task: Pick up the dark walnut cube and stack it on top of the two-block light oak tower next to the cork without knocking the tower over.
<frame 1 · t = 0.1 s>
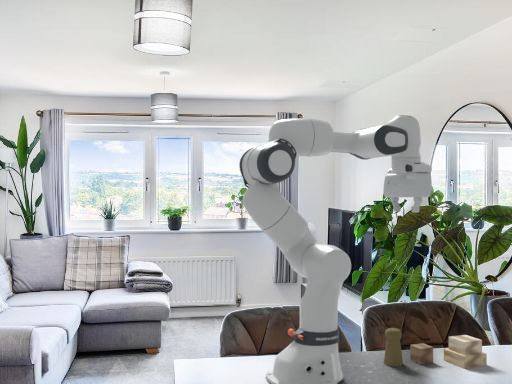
hand: (406, 212, 172), 48 cm above the table, tool pointing down, fingers open, 8 cm apart
tower mid: (465, 351, 175), point 4 cm above the table, touching tower base
tower base: (464, 363, 175), on the table, touching tower mid
cork: (393, 364, 174), on the table
walnut cube: (421, 361, 176), on the table
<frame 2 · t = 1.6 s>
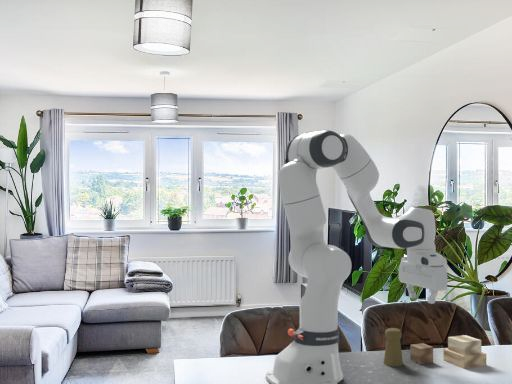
hand: (421, 300, 176), 19 cm above the table, tool pointing down, fingers open, 8 cm apart
nothing on the table moved.
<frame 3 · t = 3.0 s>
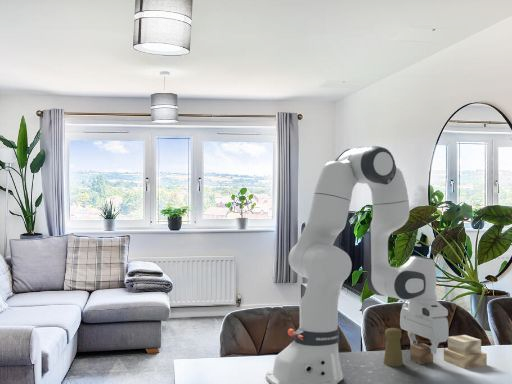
hand: (423, 349, 176), 4 cm above the table, tool pointing down, fingers open, 8 cm apart
nothing on the table moved.
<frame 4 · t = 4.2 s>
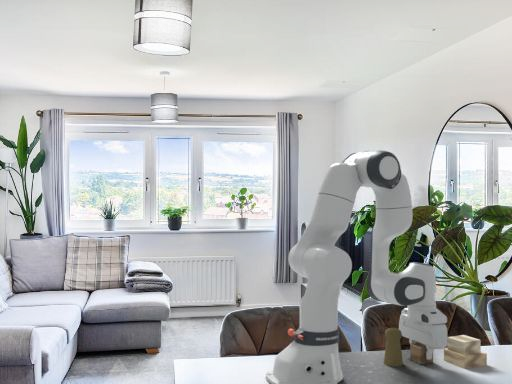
hand: (421, 356, 176), 2 cm above the table, tool pointing down, fingers closed on walnut cube, 5 cm apart
walnut cube: (421, 361, 176), on the table, touching gripper
everything else where it was.
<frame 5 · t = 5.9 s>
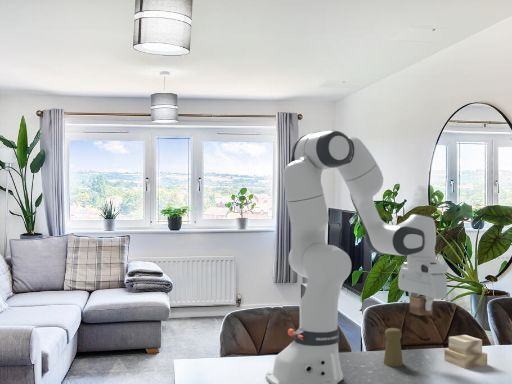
hand: (420, 308, 176), 17 cm above the table, tool pointing down, fingers closed on walnut cube, 5 cm apart
tower mid: (465, 351, 175), point 4 cm above the table
tower base: (465, 363, 175), on the table
walnut cube: (420, 313, 176), point 15 cm above the table, touching gripper
everything else where it was.
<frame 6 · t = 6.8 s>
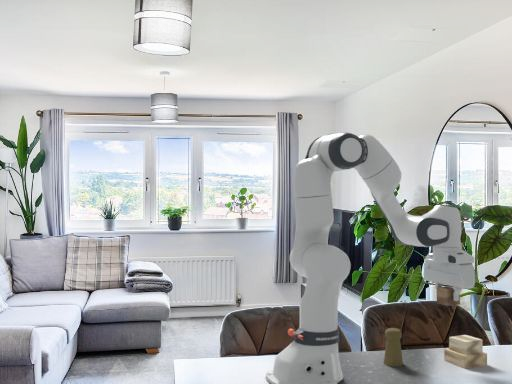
hand: (448, 298, 176), 20 cm above the table, tool pointing down, fingers closed on walnut cube, 5 cm apart
tower mid: (465, 350, 175), point 4 cm above the table, touching tower base
tower base: (465, 363, 175), on the table, touching tower mid
walnut cube: (448, 303, 176), point 18 cm above the table, touching gripper
everything else where it was.
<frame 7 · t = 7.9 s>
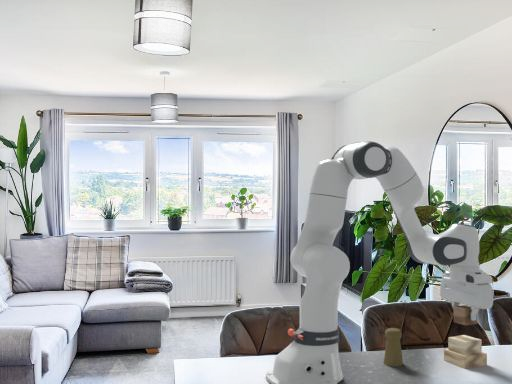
hand: (465, 318, 175), 14 cm above the table, tool pointing down, fingers closed on walnut cube, 5 cm apart
tower mid: (464, 351, 175), point 4 cm above the table
tower base: (465, 363, 175), on the table
walnut cube: (465, 322, 175), point 12 cm above the table, touching gripper
everything else where it was.
when the fingers open (10 cm above the table, at t = 9.3 s): walnut cube drops 1 cm, point 8 cm above the table.
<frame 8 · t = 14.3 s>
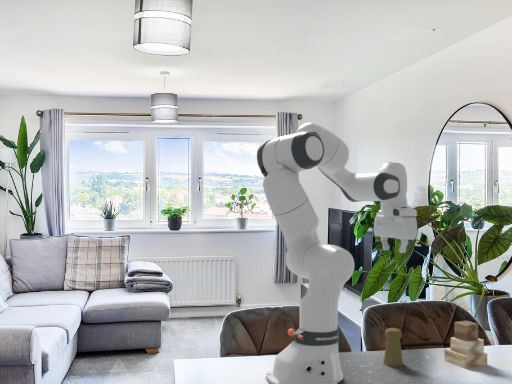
hand: (394, 251, 187), 34 cm above the table, tool pointing down, fingers open, 8 cm apart
tower mid: (467, 351, 175), point 4 cm above the table, touching tower base
tower base: (465, 363, 175), on the table, touching tower mid
walnut cube: (466, 338, 175), point 8 cm above the table
everything else where it was.
at the end: walnut cube 0.3 cm off-centre on the tower base, point 8.0 cm above the tower base's base; tower mid 0.4 cm off-centre on the tower base, point 4.0 cm above the tower base's base; walnut cube tilted 0° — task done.
